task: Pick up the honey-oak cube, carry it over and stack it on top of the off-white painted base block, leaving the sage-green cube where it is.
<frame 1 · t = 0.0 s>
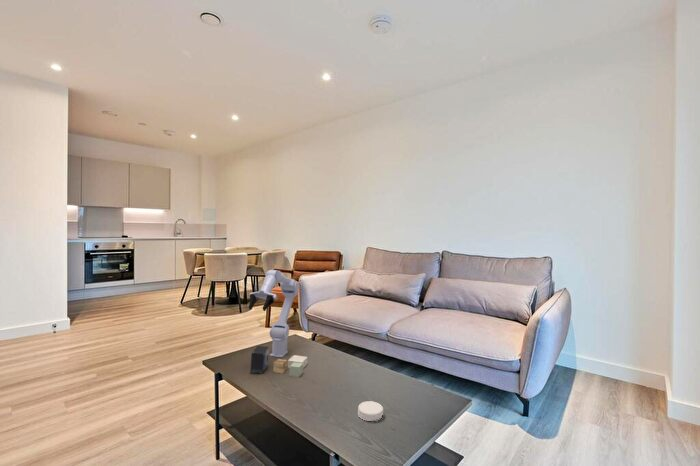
hand: (256, 309, 164), 32 cm above the table, tool tilted 50°, fingers open, 7 cm apart
oak cube: (280, 371, 168), on the table
base block: (297, 366, 176), on the table
small box: (259, 370, 169), on the table
sage cube: (296, 374, 165), on the table
coaster: (370, 416, 130), on the table
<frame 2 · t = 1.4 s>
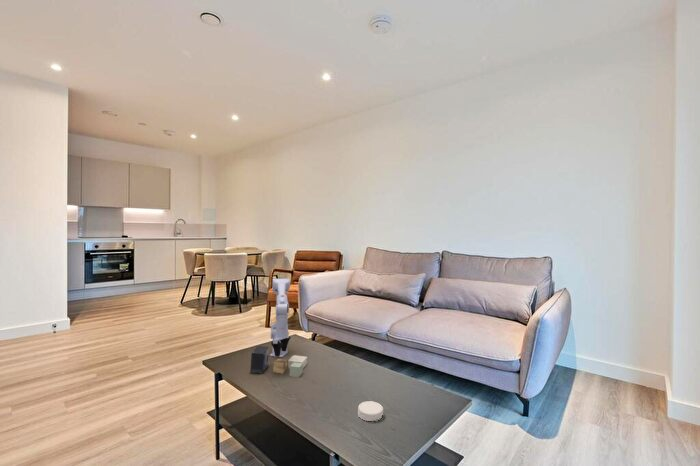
hand: (280, 353, 168), 9 cm above the table, tool pointing down, fingers open, 7 cm apart
nothing on the table moved.
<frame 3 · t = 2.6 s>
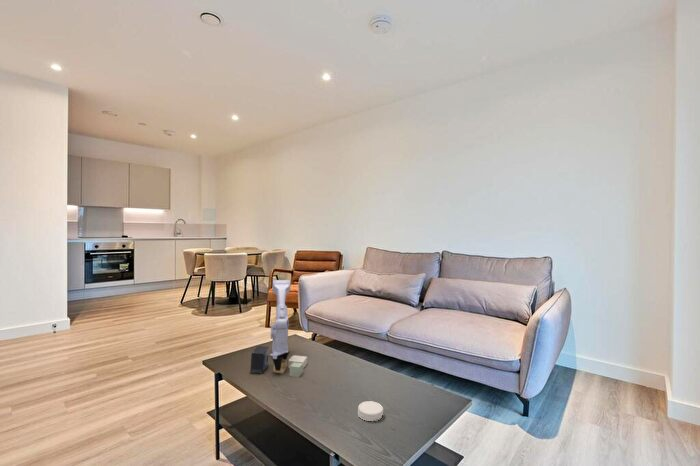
hand: (280, 368, 168), 1 cm above the table, tool pointing down, fingers closed on oak cube, 5 cm apart
oak cube: (280, 370, 168), on the table, touching gripper
everything else where it was.
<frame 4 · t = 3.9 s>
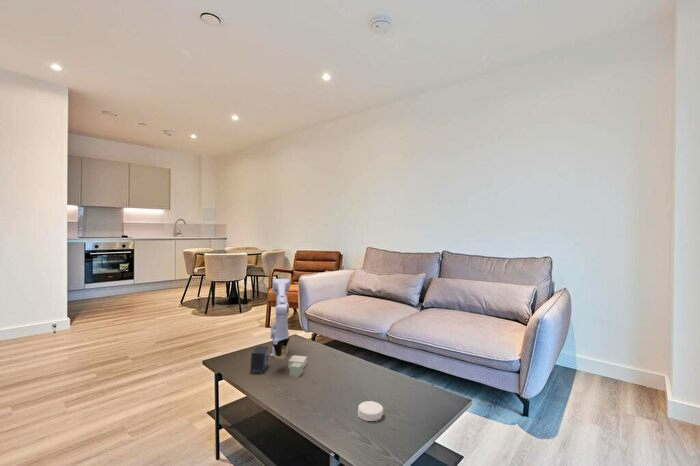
hand: (280, 354, 168), 9 cm above the table, tool pointing down, fingers closed on oak cube, 5 cm apart
oak cube: (280, 357, 168), point 7 cm above the table, touching gripper
everything else where it was.
when the fingers open (7 cm above the table, at t = 5.6 s): oak cube drops 2 cm, resting on base block.
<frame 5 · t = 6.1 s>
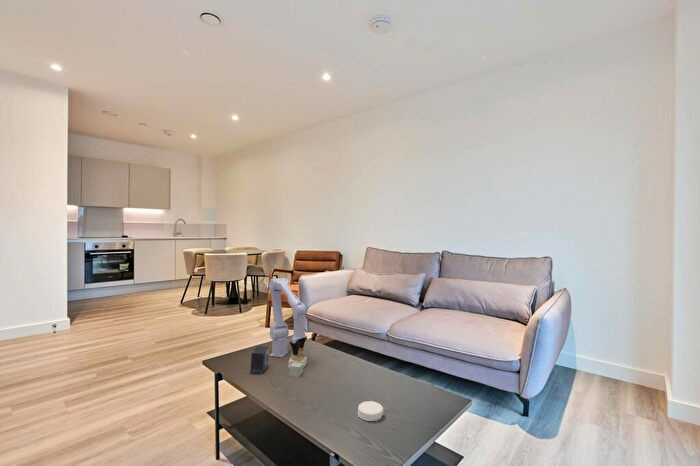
hand: (298, 352, 176), 7 cm above the table, tool pointing down, fingers open, 7 cm apart
oak cube: (297, 358, 176), point 4 cm above the table, touching base block
base block: (297, 366, 176), on the table, touching oak cube
everything else where it was.
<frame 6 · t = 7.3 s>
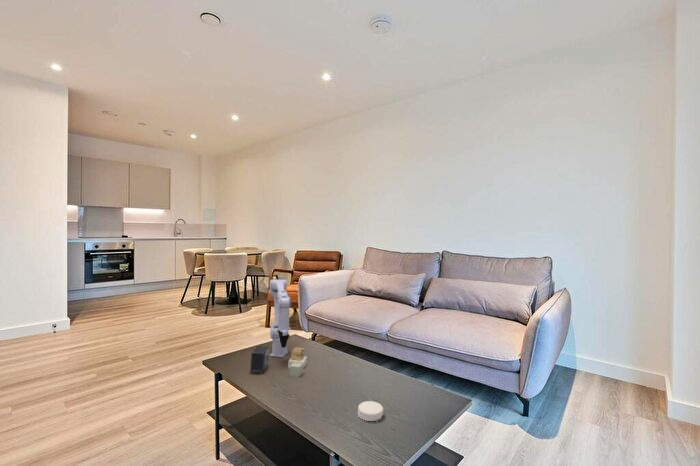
hand: (282, 345, 178), 10 cm above the table, tool pointing down, fingers open, 7 cm apart
nothing on the table moved.
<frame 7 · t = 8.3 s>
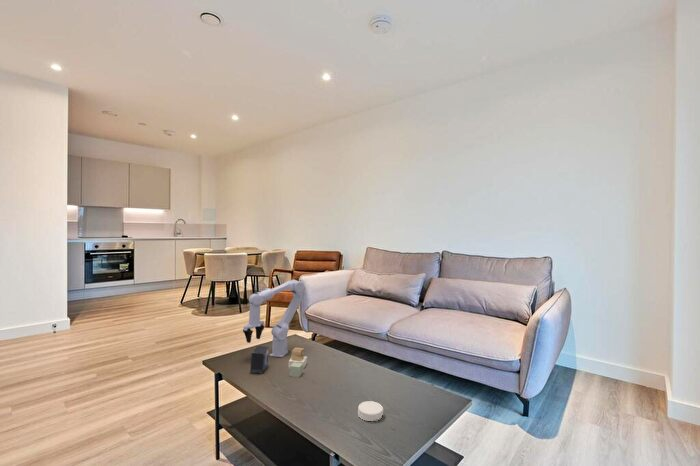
hand: (253, 340, 182), 10 cm above the table, tool pointing down, fingers open, 7 cm apart
oak cube: (297, 359, 176), point 4 cm above the table
base block: (297, 366, 176), on the table
everything else where it was.
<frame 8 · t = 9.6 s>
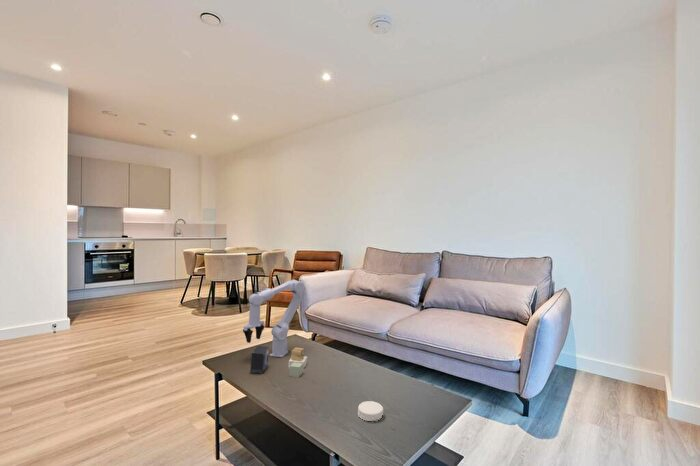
hand: (253, 340, 182), 10 cm above the table, tool pointing down, fingers open, 7 cm apart
oak cube: (297, 359, 176), point 4 cm above the table, touching base block
base block: (297, 366, 176), on the table, touching oak cube
everything else where it was.
at the end: oak cube 0.4 cm off-centre on the base block, point 4.0 cm above the base block's base; oak cube tilted 0°; the gripper is holding nothing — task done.
